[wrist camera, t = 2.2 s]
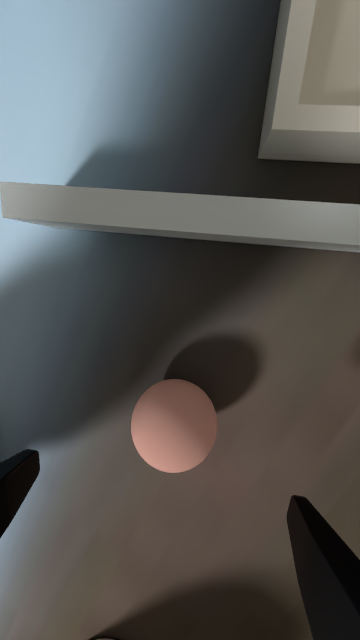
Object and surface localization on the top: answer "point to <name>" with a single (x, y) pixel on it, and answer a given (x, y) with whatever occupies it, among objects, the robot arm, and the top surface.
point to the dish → (314, 84)
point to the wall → (186, 215)
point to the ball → (174, 425)
